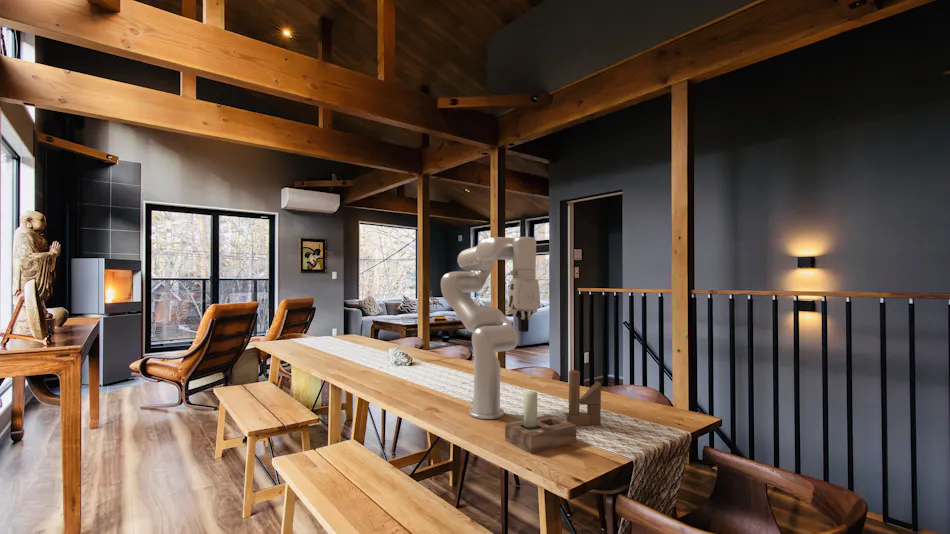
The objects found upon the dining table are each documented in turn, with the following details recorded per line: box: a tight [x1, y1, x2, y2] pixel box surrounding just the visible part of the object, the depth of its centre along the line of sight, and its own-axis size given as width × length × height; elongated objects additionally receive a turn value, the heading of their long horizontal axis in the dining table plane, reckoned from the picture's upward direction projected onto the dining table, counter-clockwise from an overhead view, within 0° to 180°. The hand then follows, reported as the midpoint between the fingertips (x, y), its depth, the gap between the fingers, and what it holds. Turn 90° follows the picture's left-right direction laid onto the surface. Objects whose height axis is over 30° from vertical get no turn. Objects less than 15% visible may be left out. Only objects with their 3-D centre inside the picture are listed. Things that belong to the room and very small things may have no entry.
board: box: [504, 414, 577, 455], centre depth 136 cm, size 12×18×5 cm, turn 124°
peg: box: [523, 390, 538, 431], centre depth 134 cm, size 4×4×14 cm
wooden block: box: [566, 369, 602, 427], centre depth 153 cm, size 4×11×18 cm, turn 98°
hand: (523, 331), depth 146 cm, fingers closed
